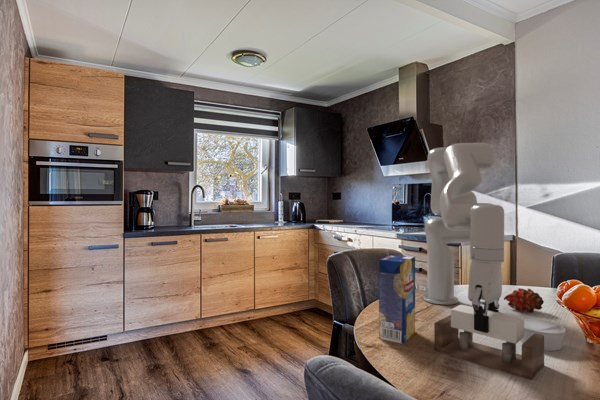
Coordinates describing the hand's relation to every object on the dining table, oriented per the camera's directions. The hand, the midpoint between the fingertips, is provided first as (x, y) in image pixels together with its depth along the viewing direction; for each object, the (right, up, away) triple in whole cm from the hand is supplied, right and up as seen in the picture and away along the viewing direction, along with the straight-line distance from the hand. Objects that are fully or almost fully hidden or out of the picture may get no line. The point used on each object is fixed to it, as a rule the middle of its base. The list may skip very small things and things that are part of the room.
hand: (486, 327), depth 92 cm
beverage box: (-18, -8, +15) cm, 24 cm away
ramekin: (+18, -8, +8) cm, 22 cm away
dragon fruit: (+32, -7, +38) cm, 50 cm away
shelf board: (0, -1, 0) cm, 1 cm away
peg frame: (0, -7, 0) cm, 7 cm away
